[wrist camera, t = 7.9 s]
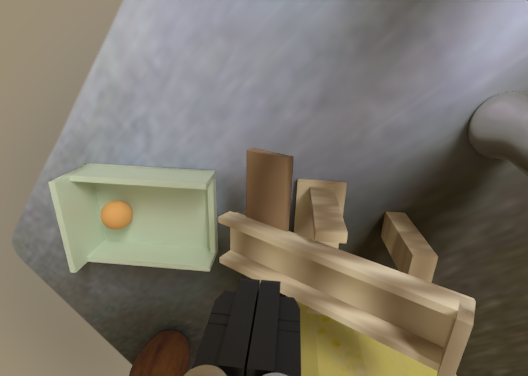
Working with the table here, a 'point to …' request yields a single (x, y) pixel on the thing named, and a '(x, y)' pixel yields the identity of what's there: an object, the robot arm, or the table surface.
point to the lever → (342, 275)
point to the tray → (139, 216)
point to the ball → (116, 214)
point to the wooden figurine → (163, 356)
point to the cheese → (349, 351)
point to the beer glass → (502, 129)
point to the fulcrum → (334, 232)
